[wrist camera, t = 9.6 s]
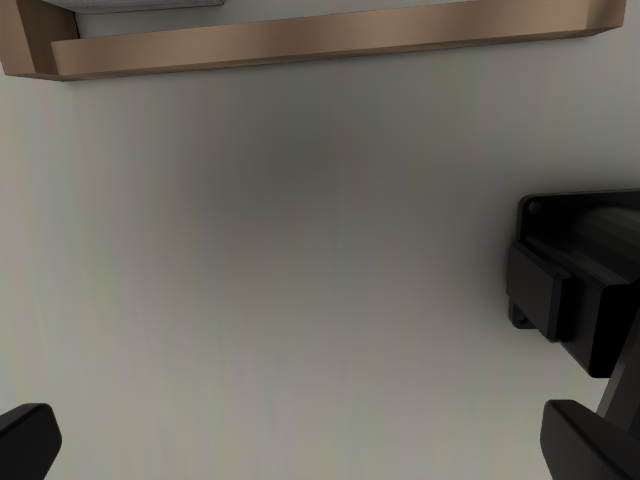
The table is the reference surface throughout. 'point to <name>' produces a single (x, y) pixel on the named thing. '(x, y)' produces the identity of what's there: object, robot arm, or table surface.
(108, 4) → the light bulb box
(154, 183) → the table surface
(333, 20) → the brown rectangular frame
